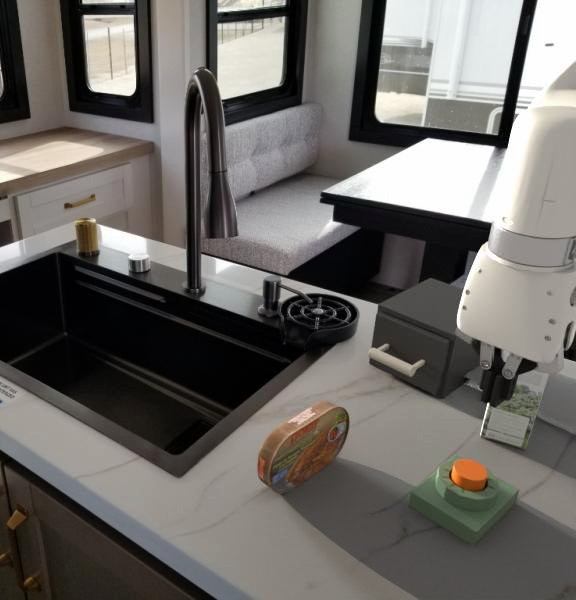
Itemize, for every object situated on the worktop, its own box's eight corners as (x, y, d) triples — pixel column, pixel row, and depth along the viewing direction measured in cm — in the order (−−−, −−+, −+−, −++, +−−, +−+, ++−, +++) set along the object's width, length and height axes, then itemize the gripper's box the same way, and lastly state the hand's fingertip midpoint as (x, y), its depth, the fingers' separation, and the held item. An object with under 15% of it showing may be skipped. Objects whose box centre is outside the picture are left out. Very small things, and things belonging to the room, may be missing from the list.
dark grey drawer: (419, 406, 91) (429, 353, 87) (352, 372, 99) (358, 322, 95) (482, 362, 101) (494, 313, 97) (416, 335, 109) (424, 288, 105)
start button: (460, 466, 76) (463, 454, 75) (490, 482, 73) (493, 470, 73) (444, 479, 74) (447, 468, 73) (474, 497, 71) (477, 485, 71)
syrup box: (529, 427, 88) (556, 336, 81) (525, 452, 83) (554, 358, 77) (484, 415, 90) (507, 325, 84) (478, 438, 86) (502, 346, 79)
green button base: (452, 467, 81) (458, 443, 79) (515, 503, 75) (523, 477, 74) (407, 505, 75) (413, 479, 73) (472, 546, 70) (480, 519, 68)
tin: (269, 506, 75) (273, 450, 72) (250, 491, 78) (253, 436, 74) (348, 451, 84) (355, 399, 80) (329, 439, 86) (335, 388, 82)
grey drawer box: (442, 399, 94) (456, 336, 89) (369, 363, 103) (378, 304, 98) (491, 364, 102) (506, 304, 97) (420, 333, 111) (430, 277, 106)
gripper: (636, 254, 57) (582, 417, 66) (476, 214, 68) (448, 359, 76) (603, 278, 53) (550, 449, 62) (438, 232, 64) (412, 383, 72)
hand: (494, 399), depth 69 cm, fingers closed
